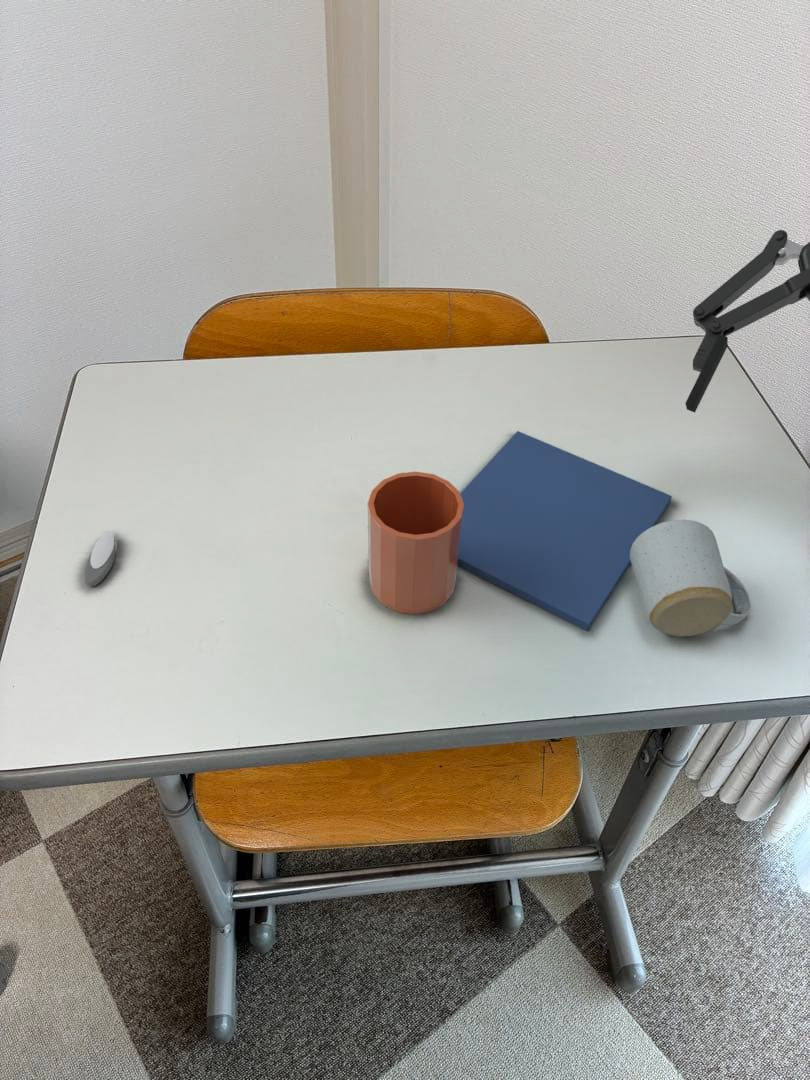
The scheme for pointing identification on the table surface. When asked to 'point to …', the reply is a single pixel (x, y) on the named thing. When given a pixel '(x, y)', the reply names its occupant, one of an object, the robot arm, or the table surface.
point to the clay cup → (414, 541)
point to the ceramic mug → (686, 579)
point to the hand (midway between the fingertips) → (765, 437)
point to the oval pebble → (101, 559)
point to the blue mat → (554, 526)
